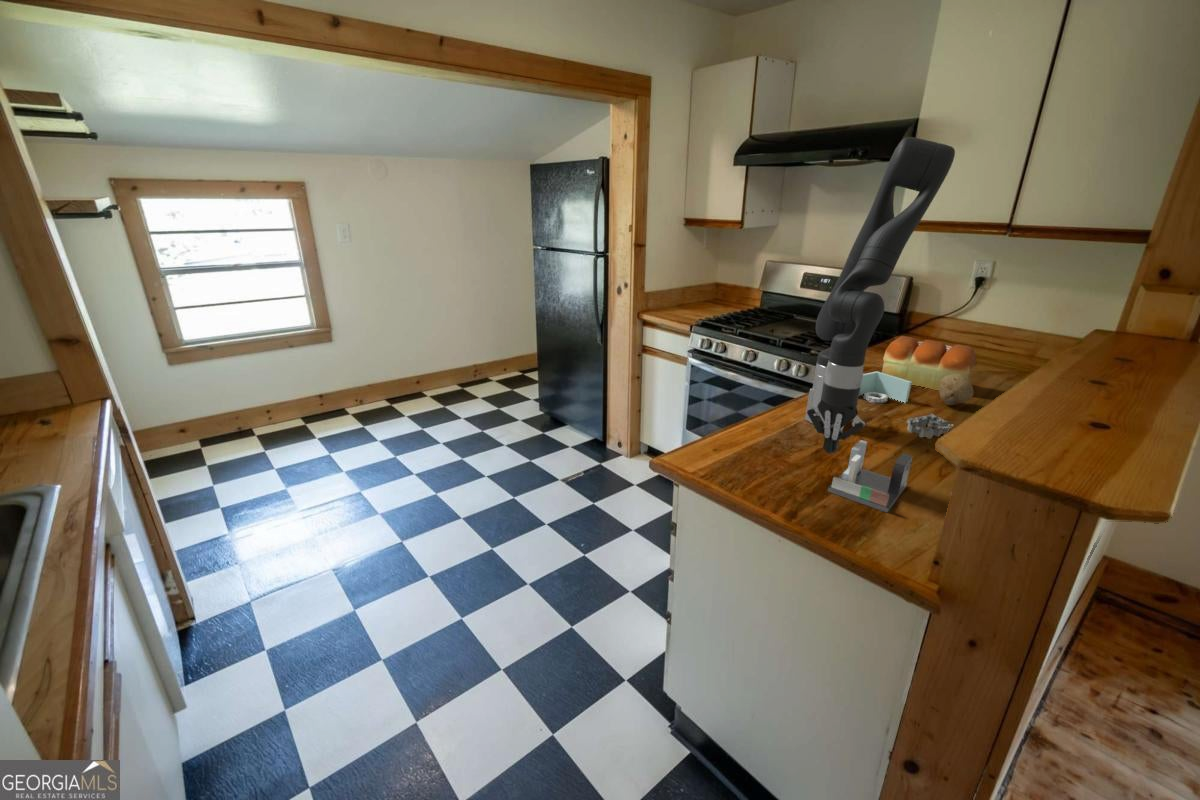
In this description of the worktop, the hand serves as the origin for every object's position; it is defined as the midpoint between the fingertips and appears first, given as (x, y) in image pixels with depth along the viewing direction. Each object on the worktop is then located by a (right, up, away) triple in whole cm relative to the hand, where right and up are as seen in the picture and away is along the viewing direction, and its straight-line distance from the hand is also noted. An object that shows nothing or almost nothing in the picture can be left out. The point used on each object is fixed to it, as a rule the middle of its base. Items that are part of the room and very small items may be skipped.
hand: (829, 452), depth 121 cm
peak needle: (+1, -7, -8) cm, 11 cm away
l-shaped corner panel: (+35, +11, +45) cm, 58 cm away
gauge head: (+3, -5, -4) cm, 7 cm away
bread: (+59, +18, +60) cm, 86 cm away
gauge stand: (+5, -8, -7) cm, 11 cm away
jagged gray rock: (+37, +3, +22) cm, 43 cm away
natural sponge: (+56, +10, +40) cm, 69 cm away
